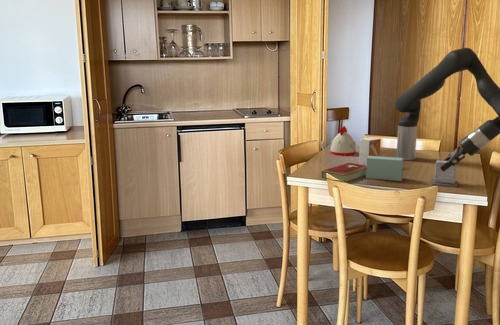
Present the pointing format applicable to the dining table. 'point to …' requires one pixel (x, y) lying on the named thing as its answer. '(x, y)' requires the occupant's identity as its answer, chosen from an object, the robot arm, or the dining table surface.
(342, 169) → the hardcover book
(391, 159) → the block
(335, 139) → the cream red beanie hat
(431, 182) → the rubber mat
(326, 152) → the dining table surface
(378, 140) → the small box
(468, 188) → the dining table surface
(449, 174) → the grey upright block
